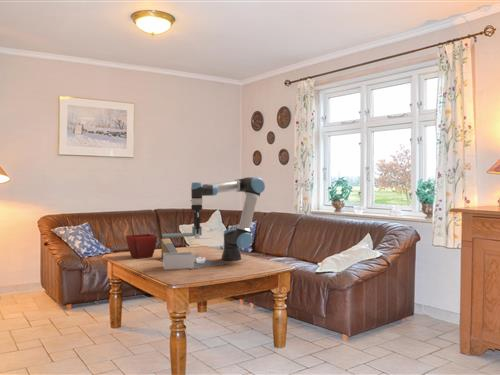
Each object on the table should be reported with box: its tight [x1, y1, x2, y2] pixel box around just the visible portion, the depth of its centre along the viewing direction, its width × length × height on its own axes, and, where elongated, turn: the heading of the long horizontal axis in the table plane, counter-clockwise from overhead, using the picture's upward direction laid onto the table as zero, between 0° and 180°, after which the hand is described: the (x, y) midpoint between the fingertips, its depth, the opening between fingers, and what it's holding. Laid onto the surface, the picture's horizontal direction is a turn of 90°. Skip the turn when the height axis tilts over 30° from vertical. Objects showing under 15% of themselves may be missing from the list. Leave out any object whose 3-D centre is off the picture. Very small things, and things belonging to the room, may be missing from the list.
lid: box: [161, 225, 202, 238], centre depth 309 cm, size 27×13×6 cm, turn 105°
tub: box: [162, 251, 195, 271], centre depth 308 cm, size 20×12×10 cm, turn 104°
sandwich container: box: [160, 237, 178, 259], centre depth 346 cm, size 9×15×15 cm, turn 51°
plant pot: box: [125, 233, 158, 259], centre depth 353 cm, size 19×19×17 cm
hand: (196, 237), depth 312 cm, fingers closed on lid, 4 cm apart
